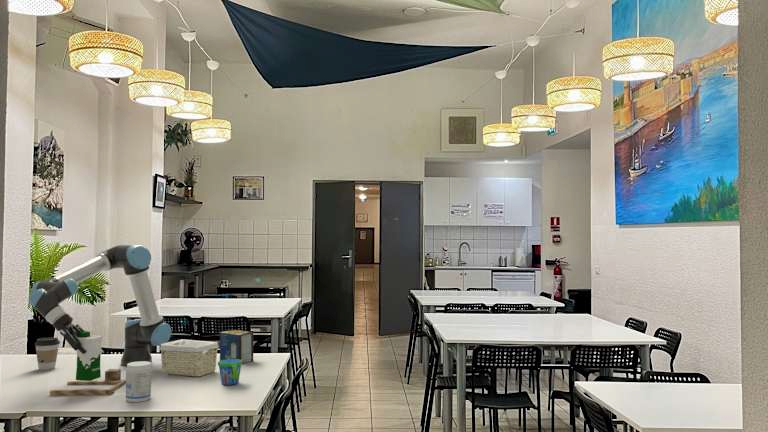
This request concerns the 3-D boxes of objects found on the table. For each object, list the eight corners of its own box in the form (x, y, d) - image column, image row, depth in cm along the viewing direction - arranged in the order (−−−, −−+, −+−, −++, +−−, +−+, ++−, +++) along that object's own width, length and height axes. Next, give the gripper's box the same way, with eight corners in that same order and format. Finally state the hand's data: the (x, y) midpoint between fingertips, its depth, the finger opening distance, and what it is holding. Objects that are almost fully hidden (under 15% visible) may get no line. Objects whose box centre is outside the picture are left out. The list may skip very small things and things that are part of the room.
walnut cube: (120, 379, 280) (120, 368, 280) (116, 382, 275) (116, 371, 275) (109, 380, 280) (109, 369, 280) (104, 382, 275) (105, 371, 275)
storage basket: (158, 374, 296) (158, 343, 296) (181, 367, 311) (181, 338, 311) (197, 378, 286) (197, 346, 287) (219, 371, 301) (219, 341, 302)
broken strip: (124, 381, 280) (125, 379, 280) (120, 384, 275) (120, 382, 275) (78, 382, 279) (78, 380, 279) (73, 384, 274) (73, 382, 274)
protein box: (234, 358, 336) (234, 329, 336) (253, 361, 327) (253, 332, 327) (219, 361, 327) (219, 331, 328) (238, 364, 318) (238, 334, 319)
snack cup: (214, 381, 280) (214, 359, 281) (237, 379, 285) (237, 357, 285) (221, 388, 266) (221, 365, 267) (245, 386, 271) (245, 363, 271)
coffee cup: (28, 370, 305) (29, 339, 305) (48, 365, 315) (49, 336, 316) (44, 372, 300) (45, 341, 301) (64, 367, 311) (65, 337, 311)
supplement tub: (121, 400, 248) (121, 363, 248) (143, 395, 255) (143, 360, 256) (133, 404, 242) (133, 366, 242) (155, 399, 249) (156, 363, 249)
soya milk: (85, 376, 269) (86, 330, 270) (104, 377, 267) (105, 331, 268) (72, 380, 260) (73, 333, 261) (90, 381, 259) (91, 334, 259)
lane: (125, 385, 273) (125, 380, 273) (110, 394, 256) (110, 390, 256) (68, 385, 272) (68, 381, 272) (49, 395, 255) (49, 390, 255)
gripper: (65, 321, 275) (100, 357, 275) (40, 329, 253) (78, 367, 253) (77, 309, 275) (112, 345, 275) (53, 316, 253) (92, 354, 254)
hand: (96, 355), depth 264 cm, fingers closed on soya milk, 9 cm apart
